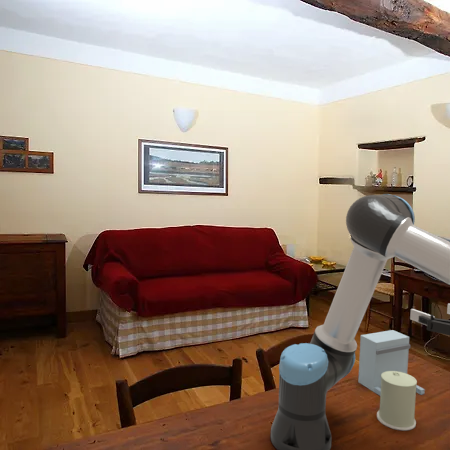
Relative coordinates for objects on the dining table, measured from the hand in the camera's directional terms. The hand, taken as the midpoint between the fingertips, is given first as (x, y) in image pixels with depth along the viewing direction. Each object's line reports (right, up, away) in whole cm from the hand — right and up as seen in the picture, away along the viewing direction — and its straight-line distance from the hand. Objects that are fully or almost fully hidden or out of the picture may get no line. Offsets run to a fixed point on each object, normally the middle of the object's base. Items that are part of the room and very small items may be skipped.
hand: (430, 311), depth 109 cm
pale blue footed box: (-1, -30, +24) cm, 38 cm away
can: (-7, -31, +5) cm, 32 cm away
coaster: (-7, -31, +5) cm, 33 cm away
